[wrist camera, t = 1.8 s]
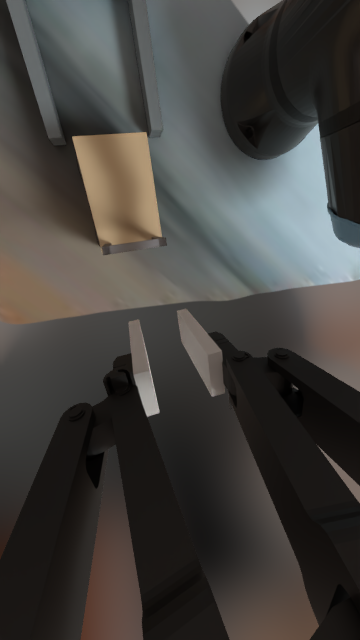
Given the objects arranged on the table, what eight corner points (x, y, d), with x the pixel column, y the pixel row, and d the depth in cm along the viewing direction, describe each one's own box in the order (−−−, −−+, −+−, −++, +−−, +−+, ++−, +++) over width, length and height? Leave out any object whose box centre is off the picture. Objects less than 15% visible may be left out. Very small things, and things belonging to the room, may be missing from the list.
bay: (137, -23, 25) (139, -48, 23) (159, 136, 31) (163, 129, 28) (1, -29, 22) (-12, -58, 20) (54, 145, 28) (48, 138, 26)
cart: (145, 151, 31) (160, 104, 19) (158, 240, 36) (177, 245, 24) (77, 156, 29) (49, 108, 18) (101, 249, 34) (91, 259, 23)
